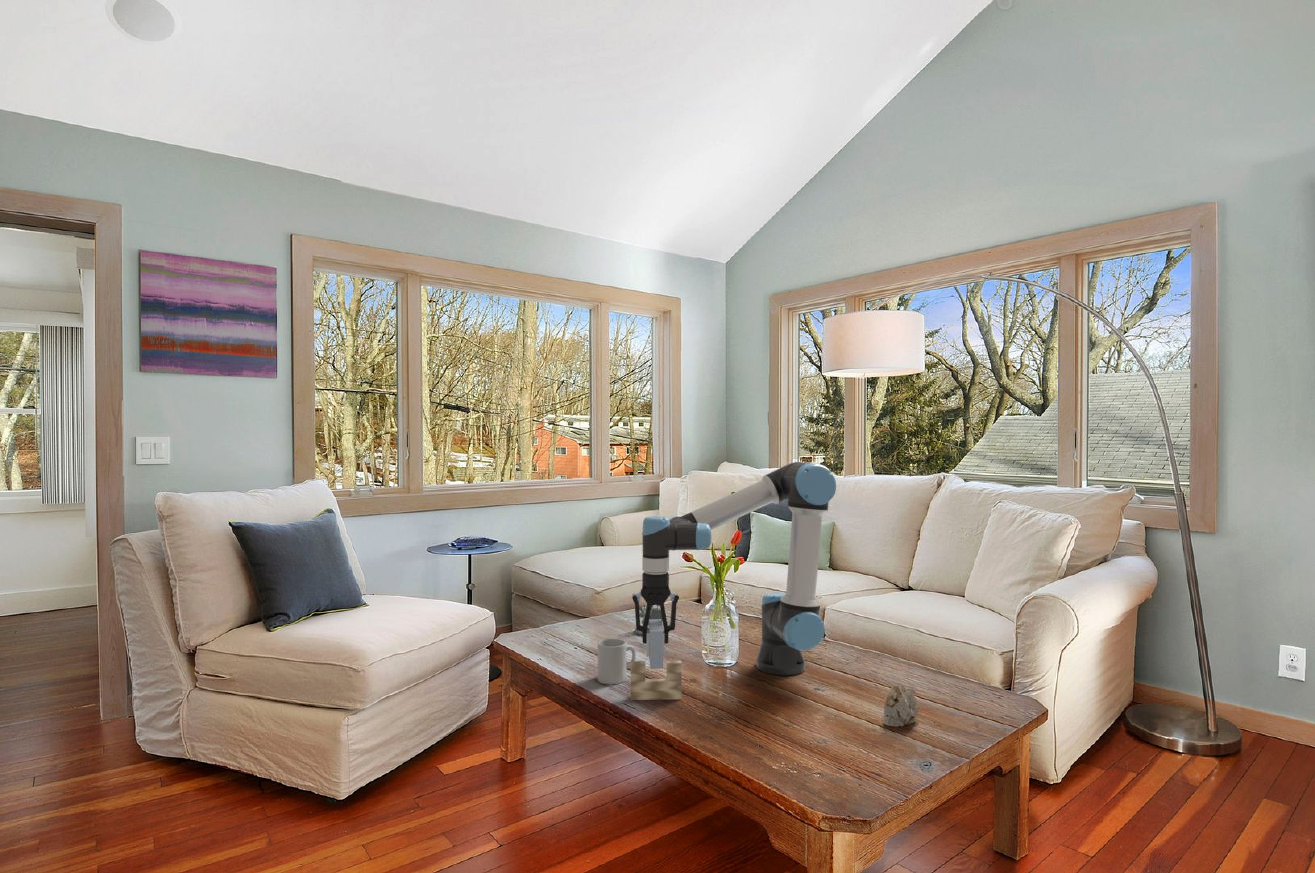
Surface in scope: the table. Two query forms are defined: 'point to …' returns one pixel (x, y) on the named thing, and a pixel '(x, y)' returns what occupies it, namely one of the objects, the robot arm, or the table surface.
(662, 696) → the slot plate fixed
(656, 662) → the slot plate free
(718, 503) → the robot arm
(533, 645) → the table surface
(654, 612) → the figurine
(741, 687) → the table surface
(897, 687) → the rock
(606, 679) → the mug
